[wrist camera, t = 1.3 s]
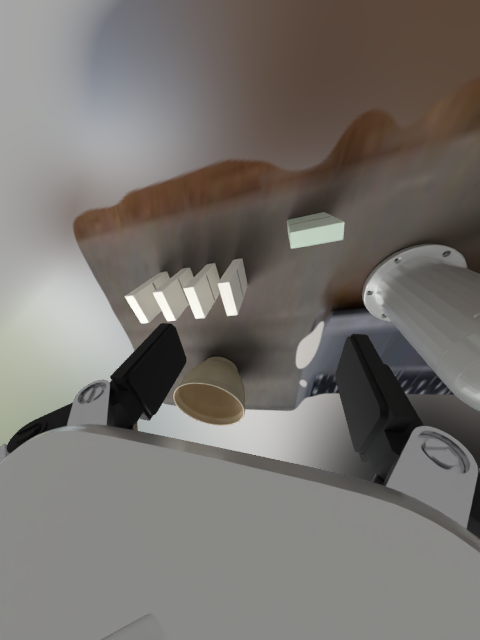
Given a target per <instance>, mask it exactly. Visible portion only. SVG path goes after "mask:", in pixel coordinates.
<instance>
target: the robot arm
mask: <svg viewBox="0 0 480 640" xmlns="http://www.w3.org/2000/svg"><path fill="white" fill-rule="evenodd" d="M395 259H396V260H395ZM362 299H363V302H364V305H365V307H366V308H367V310H368V311H369V312H370V313H371V314H372V315H374V316H375V317H377V318H379V319H381V320H385V321H390V322H392V323H393V324H394V325H395V326H396V327H397V329H398V330H399V331H400V332H401V333H402V334H403V336H404V337H405V338H406V339H407V340H408V342H409V343H410V344H411V345H412V346H413V347H414V349H415V350H416V351H417V352H418V353H419V354H420V356H421V357H422V358H423V359H424V360H425V361H426V363H427V364H428V365H429V366H430V367H431V368H432V370H433V371H434V372H435V373H436V374H437V376H438V377H439V378H440V379H441V380H442V381H443V382H444V383H445V385H446V386H447V387H448V388H449V389H450V390H451V391H452V392H453V393H454V394H455V395H456V396H457V397H458V398H459V399H461V400H462V401H463V402H465V403H466V404H468V405H469V406H471V407H473V408H474V409H476V410H478V411H480V274H479V273H477V272H474V271H472V270H469V269H467V263H466V260H465V258H464V257H463V256H462V254H461V253H460V252H458V251H457V250H455V249H453V248H450V247H448V246H445V245H440V244H421V245H415V246H412V247H409V248H405V249H403V250H401V251H399V252H396V253H394V254H393V255H391V256H390V257H388V258H386V259H385V260H384V261H382V262H381V263H380V264H379V265H378V266H377V267H376V268H375V269H374V270H373V271H372V272H371V274H370V275H369V277H368V278H367V280H366V282H365V284H364V287H363V292H362ZM185 364H186V356H185V353H184V350H183V347H182V344H181V342H180V339H179V336H178V333H177V330H176V328H175V327H174V326H173V325H172V324H167V323H162V324H160V325H159V326H158V327H157V328H156V329H155V330H154V331H153V332H152V334H151V335H150V336H149V337H148V338H147V339H146V340H145V341H144V342H143V343H142V344H141V345H140V346H139V347H138V348H137V349H136V350H135V351H134V352H133V354H131V356H130V357H129V358H128V359H127V360H126V361H125V362H124V363H123V364H122V365H121V366H120V367H119V368H118V369H117V370H116V371H115V372H114V373H113V374H112V375H111V377H110V378H111V379H112V381H111V382H110V383H109V382H108V381H107V380H98V381H95V382H92V383H90V384H88V385H87V386H86V387H84V388H83V389H82V390H80V391H79V392H78V394H77V395H76V396H75V399H74V401H73V403H71V404H69V405H67V406H65V407H62V408H60V409H58V410H56V411H53V412H51V413H49V414H47V415H45V416H43V417H40V418H38V419H36V420H34V421H32V422H30V423H28V424H27V425H25V426H24V427H22V428H21V429H20V430H19V431H18V432H17V433H16V434H15V435H14V436H13V437H12V438H11V439H10V441H9V443H8V445H6V444H3V445H2V446H0V640H480V469H478V466H477V464H476V462H475V460H474V458H473V456H472V455H471V454H470V452H469V451H468V450H467V449H466V448H465V447H464V446H463V445H462V444H461V443H460V442H459V441H457V440H456V439H455V438H453V437H452V436H450V435H449V434H447V433H445V432H443V431H441V430H439V429H436V428H433V427H429V426H424V425H423V423H422V422H421V420H420V418H419V417H418V415H417V413H416V411H415V410H414V408H413V406H412V405H411V403H410V402H409V400H408V398H407V396H406V394H405V393H404V391H403V389H402V388H401V386H400V384H399V383H398V381H397V379H396V377H395V376H394V374H393V372H392V371H391V369H390V368H389V366H388V365H386V364H383V362H382V360H381V359H380V357H379V355H378V353H377V352H376V350H375V348H374V346H373V344H372V343H371V341H370V339H369V337H368V336H367V335H361V334H352V335H351V337H347V339H346V342H345V345H344V348H343V352H342V355H341V358H340V361H339V364H338V368H337V371H336V382H337V386H338V390H339V394H340V398H341V401H342V405H343V409H344V413H345V417H346V420H347V424H348V428H349V432H350V435H351V439H352V443H353V447H354V449H355V451H356V452H359V454H360V457H361V461H364V462H369V463H372V467H373V469H374V472H376V475H375V477H374V479H373V481H372V482H370V481H366V480H363V479H359V478H356V477H351V476H347V475H342V474H338V473H334V472H330V471H325V470H321V469H317V468H312V467H308V466H303V465H298V464H294V463H289V462H284V461H280V460H275V459H270V458H265V457H261V456H256V455H252V454H247V453H242V452H237V451H232V450H227V449H223V448H218V447H213V446H208V445H204V444H199V443H194V442H189V441H184V440H179V439H175V438H169V437H165V436H159V435H154V434H150V433H145V432H140V431H138V429H137V421H138V419H139V418H141V419H144V420H150V419H151V418H152V416H153V415H155V414H156V413H157V411H158V409H159V408H160V406H161V404H162V403H163V401H164V399H165V398H166V396H167V394H168V393H169V391H170V389H171V387H172V386H173V384H174V382H175V381H176V379H177V377H178V376H179V374H180V372H181V371H182V369H183V367H184V365H185Z"/></svg>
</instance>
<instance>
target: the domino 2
mask: <svg viewBox="0 0 480 640" xmlns="http://www.w3.org/2000/svg"><path fill="white" fill-rule="evenodd" d="M193 278H194V277H193V274H192V271H191V269H190V267H189V268H183V269H181V270H180V271H179V272H178V273H176V274H175V275H174V276H173V277H171V278H170V279H169V280H168V281H166V282H165V283H164V284H163V285H161V286H160V287H159V288H158V289H156V290H155V291H154V292H153V295H154V297H155V299H156V301H157V303H158V305H159V306H160V308H161V310H162V312H163V314H164V316H165V318H166V320H167V321H175V320H177V319H178V317H179V316H180V315H181V314H182V312H183V311H184V310H185V309H186V307H187V306H188V305H189V302H188V299H187V297H186V295H185V292H184V290H183V288H184V287H185V286H186V285H187V284H188V283H189V282H190V281H191V280H192V279H193Z"/></svg>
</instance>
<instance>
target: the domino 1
mask: <svg viewBox="0 0 480 640" xmlns="http://www.w3.org/2000/svg"><path fill="white" fill-rule="evenodd" d="M169 279H170V277H169V275H168V273H167V271H166V272H160V273H158V274H157V275H156V276H154V277H153V278H151V279H150V280H148V281H147V282H145V283H144V284H142V285H141V286H139V287H138V288H136V289H135V290H133V291H132V292H131V293H129V294H128V295H126V296H125V298H126V300H127V301H128V303H129V305H130V306H131V308H132V309H133V311H134V313H135V314H136V316H137V317H138V319H139V321H140V322H141V324H142V323H150V322H151V321H152V320H153V319H154V318H155V317H156V316H157V315H158V314H159V313H160V312H161V311H162V310H161V308H160V306H159V305H158V303H157V301H156V299H155V297H154V295H153V292H154V291H155V290H156V289H158V288H159V287H160V286H161V285H163V284H164V283H165V282H166V281H168V280H169Z"/></svg>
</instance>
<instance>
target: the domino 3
mask: <svg viewBox="0 0 480 640" xmlns="http://www.w3.org/2000/svg"><path fill="white" fill-rule="evenodd" d="M219 280H220V278H219V275H218V271H217V268H216V265H215V263H212V264H207V265H206V266H205V267H204V268H203V269H202V270H201V271H200V272H199V273H198V274H197V275H196V276H195V277H194V278H193V279H192V280H191V281H190V282H189V283H188V284H187V285H186V286H185V287H184V288H183V290H184V292H185V295H186V297H187V299H188V302H189V304H190V307H191V309H192V311H193V314H194V316H195V319H198V318H205V317H206V316H207V314H208V312H209V311H210V309H211V307H212V306H213V304H214V302H215V301H216V299H217V297H218V295H219V294H220V291H219V287H218V284H217V283H218V282H219Z"/></svg>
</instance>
